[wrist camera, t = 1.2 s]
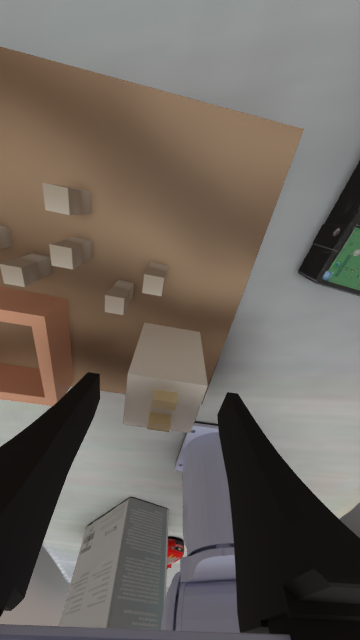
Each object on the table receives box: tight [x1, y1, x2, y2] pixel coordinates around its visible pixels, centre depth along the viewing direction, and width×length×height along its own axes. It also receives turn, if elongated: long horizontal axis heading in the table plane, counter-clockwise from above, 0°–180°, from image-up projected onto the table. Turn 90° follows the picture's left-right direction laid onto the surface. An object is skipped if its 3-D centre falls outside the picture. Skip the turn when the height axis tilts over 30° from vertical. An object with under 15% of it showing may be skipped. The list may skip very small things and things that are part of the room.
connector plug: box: [123, 323, 208, 433], centre depth 13 cm, size 4×4×6 cm
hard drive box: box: [59, 497, 169, 630], centre depth 26 cm, size 16×8×20 cm, turn 143°
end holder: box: [0, 287, 74, 406], centre depth 14 cm, size 8×8×2 cm
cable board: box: [0, 47, 304, 405], centre depth 12 cm, size 19×20×4 cm
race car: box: [167, 539, 184, 569], centre depth 40 cm, size 13×5×4 cm, turn 131°
